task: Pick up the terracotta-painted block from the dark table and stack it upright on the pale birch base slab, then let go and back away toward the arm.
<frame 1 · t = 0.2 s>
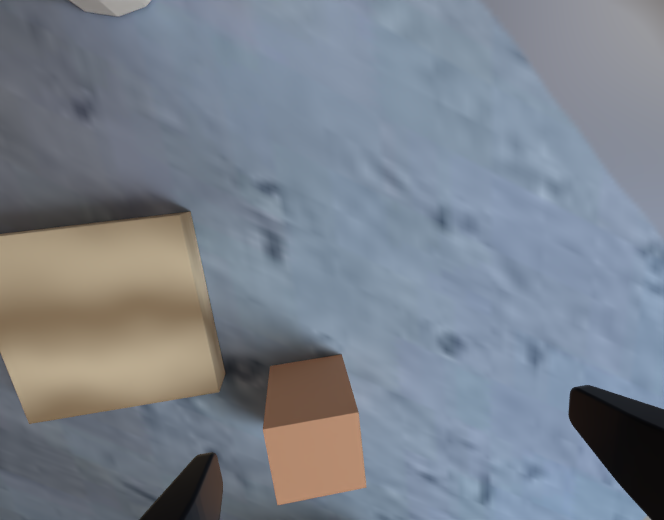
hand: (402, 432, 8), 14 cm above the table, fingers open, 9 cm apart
base slab: (118, 310, 20), on the table
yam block: (310, 390, 24), on the table
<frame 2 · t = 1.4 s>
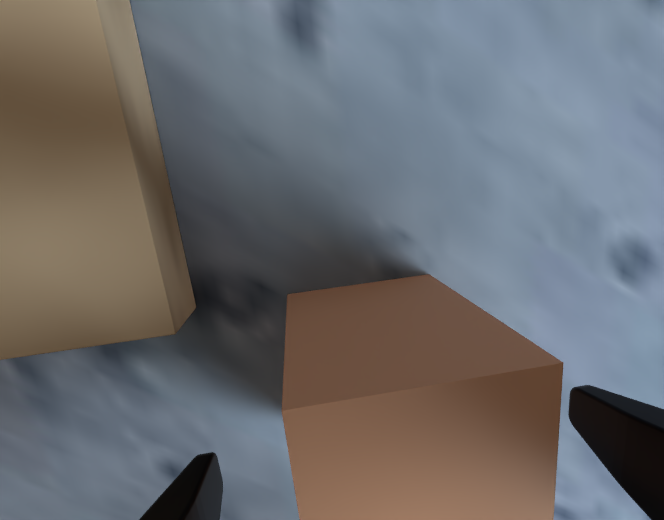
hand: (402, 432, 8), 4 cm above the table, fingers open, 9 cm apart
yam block: (365, 348, 12), on the table
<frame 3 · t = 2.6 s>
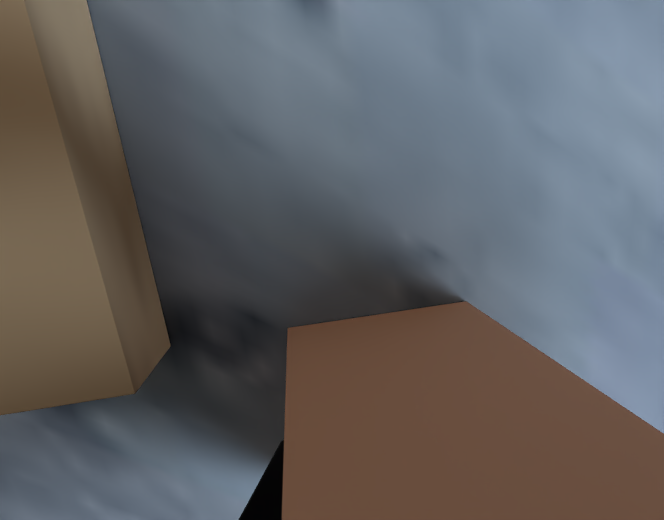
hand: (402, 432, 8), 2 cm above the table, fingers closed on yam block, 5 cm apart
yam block: (385, 394, 10), on the table, touching gripper
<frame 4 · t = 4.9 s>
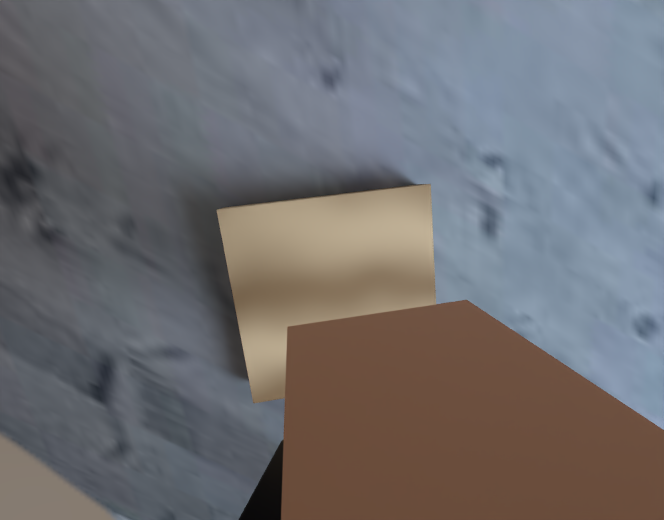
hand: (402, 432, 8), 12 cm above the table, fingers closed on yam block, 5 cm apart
base slab: (333, 287, 20), on the table
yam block: (385, 393, 10), point 11 cm above the table, touching gripper
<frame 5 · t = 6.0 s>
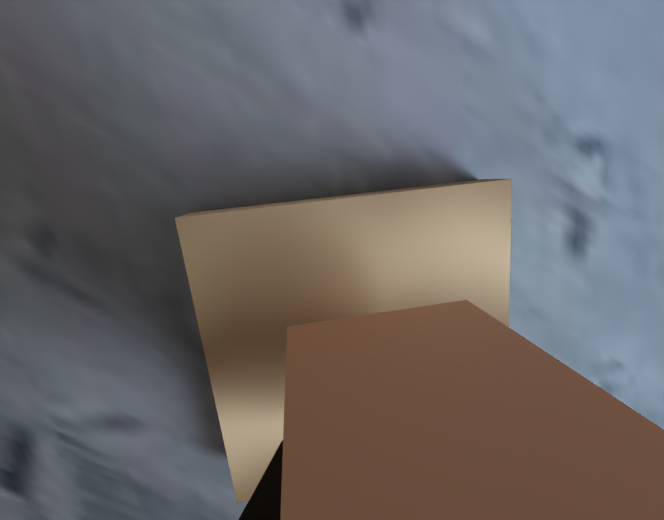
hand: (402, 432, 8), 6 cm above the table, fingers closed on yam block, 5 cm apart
base slab: (355, 328, 14), on the table
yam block: (385, 392, 10), point 4 cm above the table, touching gripper
when the fingers open (4 cm above the table, at t = 7.1 s): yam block stays where it is, resting on base slab.
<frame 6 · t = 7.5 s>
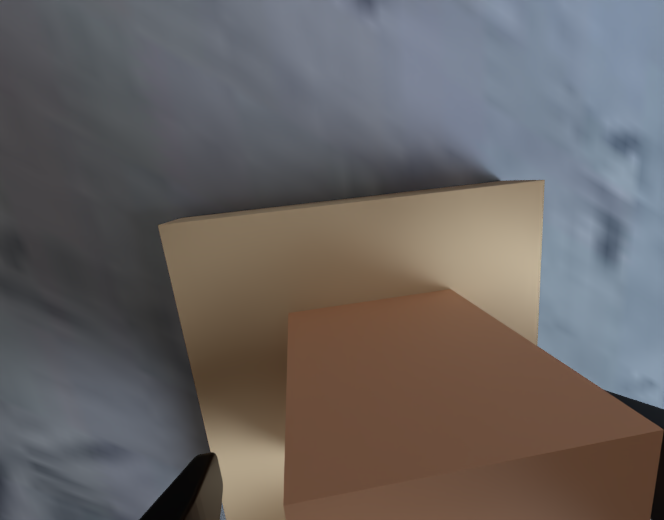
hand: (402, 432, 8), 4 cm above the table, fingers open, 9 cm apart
base slab: (363, 345, 12), on the table
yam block: (377, 374, 11), point 2 cm above the table, touching base slab
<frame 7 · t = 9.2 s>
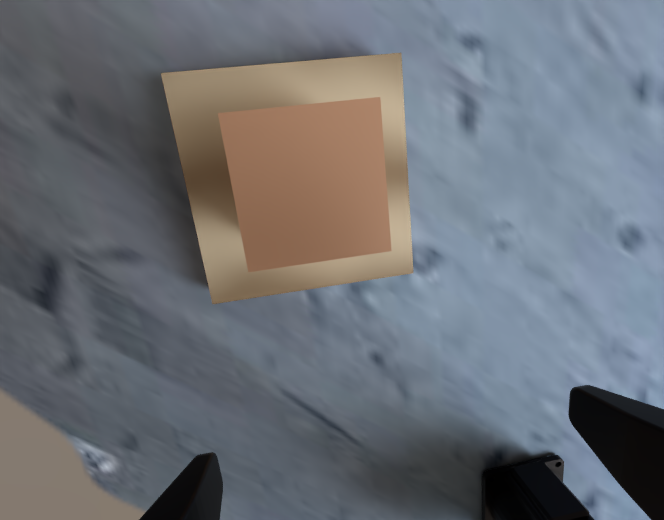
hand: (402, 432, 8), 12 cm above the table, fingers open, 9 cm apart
base slab: (300, 184, 18), on the table
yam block: (302, 184, 16), point 2 cm above the table, touching base slab
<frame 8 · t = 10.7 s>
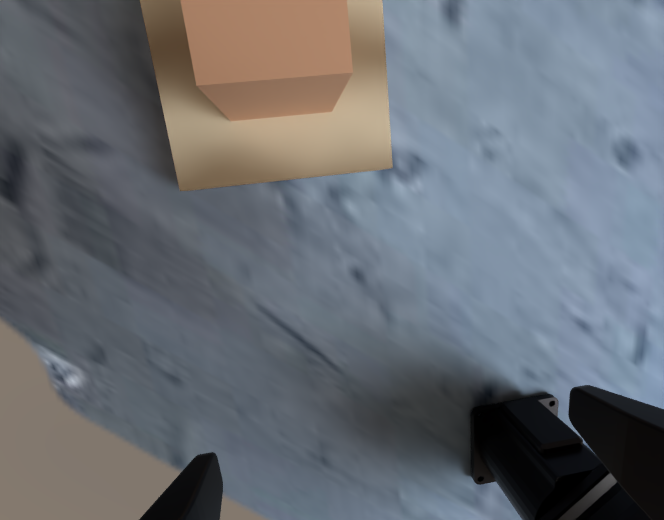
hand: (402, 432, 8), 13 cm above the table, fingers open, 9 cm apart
base slab: (275, 74, 18), on the table
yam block: (274, 60, 16), point 2 cm above the table, touching base slab
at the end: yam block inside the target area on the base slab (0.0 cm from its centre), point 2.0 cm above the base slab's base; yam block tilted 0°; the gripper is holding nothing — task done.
